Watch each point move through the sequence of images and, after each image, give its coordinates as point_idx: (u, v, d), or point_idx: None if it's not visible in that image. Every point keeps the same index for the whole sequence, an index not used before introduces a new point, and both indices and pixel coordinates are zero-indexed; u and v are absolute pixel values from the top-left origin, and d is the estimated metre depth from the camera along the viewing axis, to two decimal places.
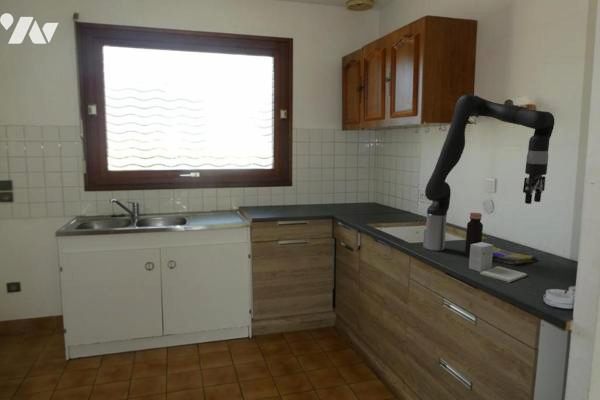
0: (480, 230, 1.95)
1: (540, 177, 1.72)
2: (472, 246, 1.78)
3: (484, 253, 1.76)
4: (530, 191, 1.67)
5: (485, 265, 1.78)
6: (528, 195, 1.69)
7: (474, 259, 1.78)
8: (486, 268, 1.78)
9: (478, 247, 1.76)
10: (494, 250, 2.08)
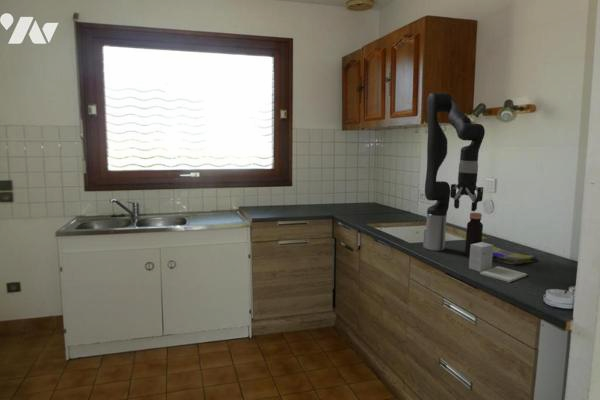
0: (480, 230, 1.95)
1: None
2: (472, 246, 1.78)
3: (484, 253, 1.76)
4: None
5: (485, 265, 1.78)
6: (476, 203, 1.80)
7: (474, 259, 1.78)
8: (486, 268, 1.78)
9: (478, 247, 1.76)
10: (494, 250, 2.08)
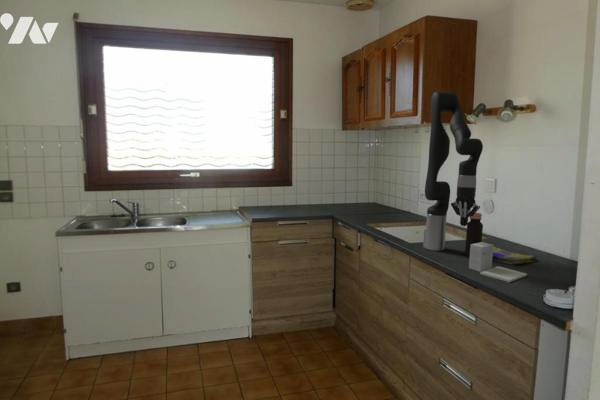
0: (480, 230, 1.95)
1: None
2: (472, 246, 1.78)
3: (484, 253, 1.76)
4: None
5: (485, 265, 1.78)
6: (467, 218, 1.84)
7: (474, 259, 1.78)
8: (486, 268, 1.78)
9: (478, 247, 1.76)
10: (494, 250, 2.08)
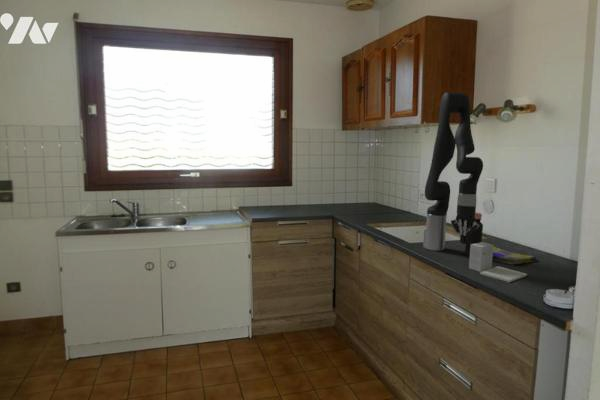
0: (480, 230, 1.95)
1: None
2: (472, 246, 1.78)
3: (484, 253, 1.76)
4: None
5: (485, 265, 1.78)
6: (467, 236, 1.84)
7: (474, 259, 1.78)
8: (486, 268, 1.78)
9: (478, 247, 1.76)
10: (494, 250, 2.08)
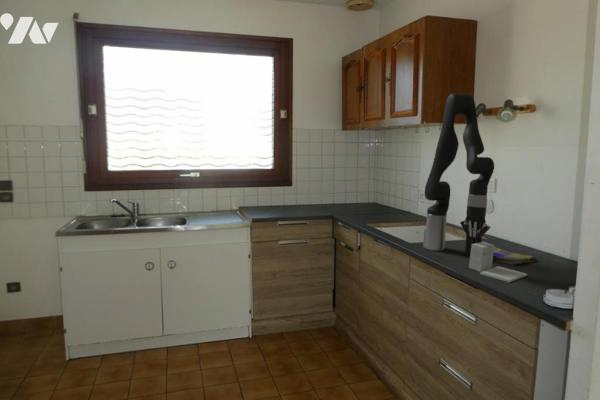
0: (480, 230, 1.95)
1: None
2: (473, 246, 1.78)
3: (485, 253, 1.76)
4: None
5: (485, 265, 1.77)
6: (477, 238, 1.81)
7: (475, 259, 1.77)
8: (486, 268, 1.78)
9: (479, 247, 1.75)
10: (494, 250, 2.08)
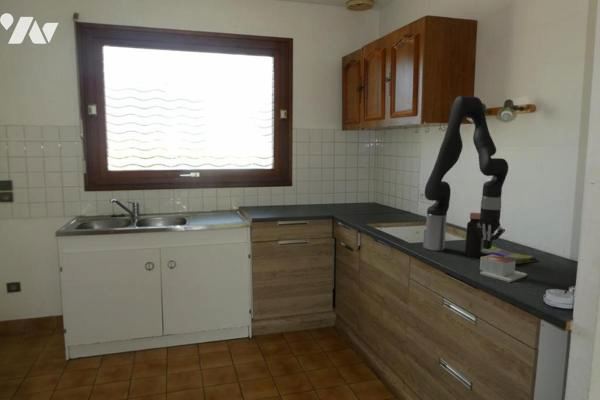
0: None
1: None
2: (502, 265, 1.67)
3: None
4: None
5: None
6: (491, 241, 1.76)
7: (489, 265, 1.72)
8: None
9: (502, 272, 1.68)
10: (494, 250, 2.08)
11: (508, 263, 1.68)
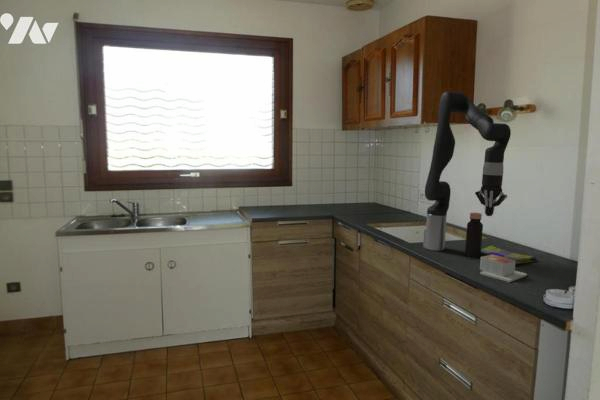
0: (480, 230, 1.95)
1: None
2: (502, 265, 1.67)
3: None
4: None
5: None
6: (493, 208, 1.74)
7: (489, 265, 1.72)
8: None
9: (502, 272, 1.68)
10: (494, 250, 2.08)
11: (508, 263, 1.68)
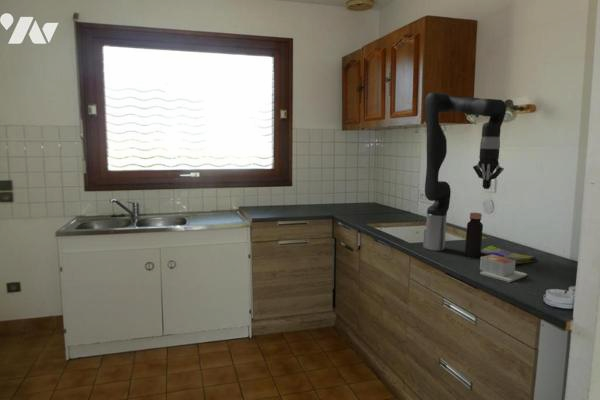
0: (480, 230, 1.95)
1: None
2: (502, 265, 1.67)
3: None
4: None
5: None
6: (490, 181, 1.81)
7: (489, 265, 1.72)
8: None
9: (502, 272, 1.68)
10: (494, 250, 2.08)
11: (508, 263, 1.68)
